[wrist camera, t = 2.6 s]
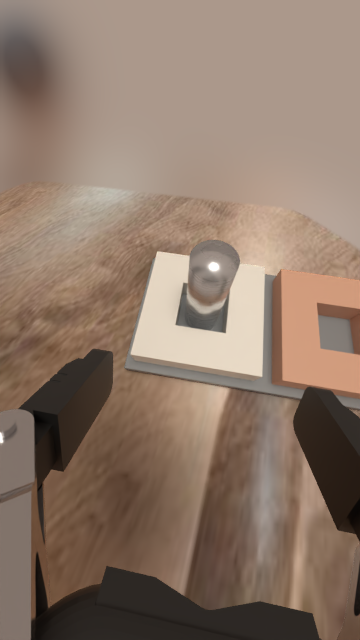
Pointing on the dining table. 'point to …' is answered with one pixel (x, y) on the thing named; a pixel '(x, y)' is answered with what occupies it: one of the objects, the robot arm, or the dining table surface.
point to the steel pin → (209, 282)
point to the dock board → (253, 332)
